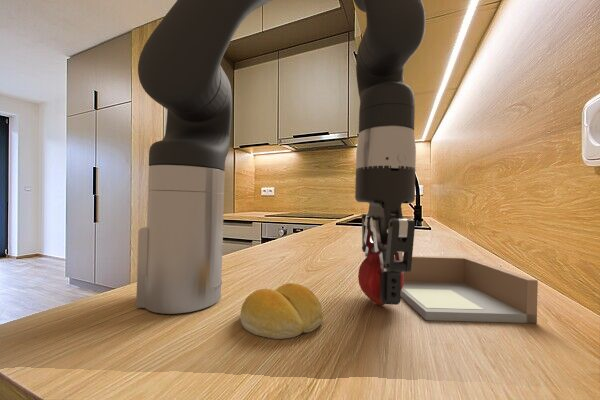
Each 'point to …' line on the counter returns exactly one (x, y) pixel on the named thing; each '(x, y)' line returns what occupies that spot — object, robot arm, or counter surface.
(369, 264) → the onion
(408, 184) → the robot arm
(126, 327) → the counter surface
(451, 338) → the counter surface
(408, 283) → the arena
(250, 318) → the bread roll
